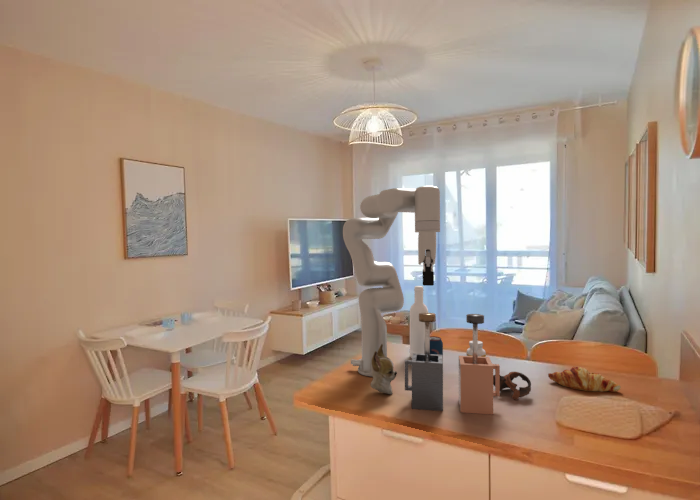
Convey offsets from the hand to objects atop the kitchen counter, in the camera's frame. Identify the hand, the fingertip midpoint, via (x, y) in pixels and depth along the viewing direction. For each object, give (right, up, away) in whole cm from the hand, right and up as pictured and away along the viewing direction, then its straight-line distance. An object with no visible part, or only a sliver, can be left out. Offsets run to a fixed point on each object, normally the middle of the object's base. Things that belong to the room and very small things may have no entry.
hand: (428, 283), depth 126 cm
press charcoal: (-1, -37, 0) cm, 37 cm away
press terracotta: (+15, -37, -3) cm, 40 cm away
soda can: (+8, -36, +33) cm, 50 cm away
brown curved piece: (+28, -37, +7) cm, 47 cm away
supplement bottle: (+22, -36, +23) cm, 48 cm away
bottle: (+5, -35, +49) cm, 61 cm away
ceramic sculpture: (-13, -37, +9) cm, 40 cm away
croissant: (+54, -36, +13) cm, 67 cm away
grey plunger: (+13, -27, -3) cm, 31 cm away
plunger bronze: (0, -27, 0) cm, 27 cm away
